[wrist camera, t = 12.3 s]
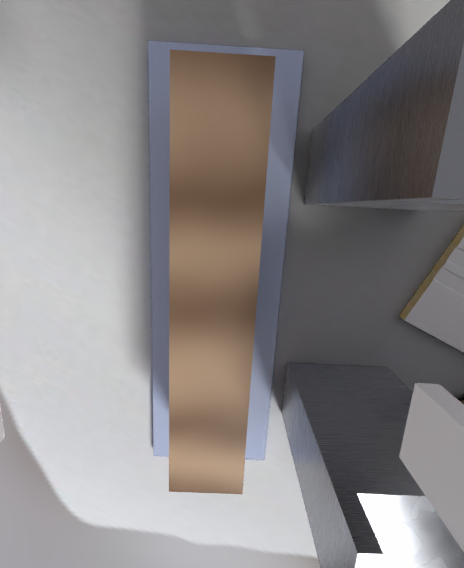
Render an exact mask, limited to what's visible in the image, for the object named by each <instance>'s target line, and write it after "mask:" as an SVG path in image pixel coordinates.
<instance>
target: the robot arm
mask: <svg viewBox="0 0 464 568" xmlns="http://www.w3.org/2000/svg"><path fill="white" fill-rule="evenodd" d="M4 438H5V434H4V427H3V420H2V413H1V405H0V442H1V440H3V439H4ZM399 457H400V459H401V460H402V462H403V463H404V465H405V466H406V468H407V469H408V471H409V472H410V474H411V475H412V477H413V478H414V480H415V481H416V483H417V484H418V486H419V487H420V488H421V490H422V491H423V493H424V494H425V496H426V497H427V499H428V500H429V502H430V503H431V505H432V506H433V508H434V509H435V511H436V512H437V514H438V515H439V516H440V518H441V519H442V521H443V522H444V524H445V525H446V527H447V528H448V530H449V531H450V533H451V534H452V536H453V537H454V539H455V540H456V542H457V543H458V545H459V546H460V547H461V549H462V550H463V552H464V404H463V403H461V402H460V401H459V400H458V399H457V398H455V397H454V396H453V395H452V394H451V393H449V392H448V391H447V390H446V389H445V388H443V387H442V386H441V385H440V384H427V383H415V385H414V390H413V394H412V399H411V404H410V408H409V413H408V418H407V422H406V427H405V432H404V436H403V441H402V446H401V450H400V455H399Z"/></svg>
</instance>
